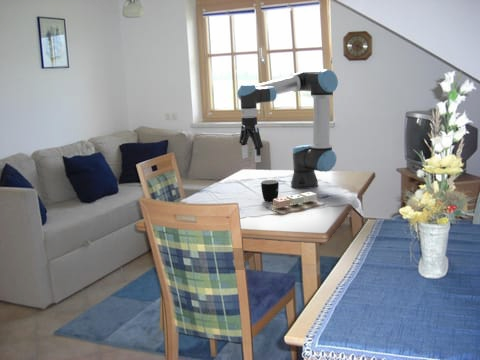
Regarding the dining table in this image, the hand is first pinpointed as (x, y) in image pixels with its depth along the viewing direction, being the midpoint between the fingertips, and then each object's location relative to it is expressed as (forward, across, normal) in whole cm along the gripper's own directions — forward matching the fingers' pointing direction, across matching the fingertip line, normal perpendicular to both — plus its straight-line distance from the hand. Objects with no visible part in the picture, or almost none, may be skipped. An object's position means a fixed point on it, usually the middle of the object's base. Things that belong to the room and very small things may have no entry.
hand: (251, 160), depth 276 cm
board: (+24, +11, +17) cm, 32 cm away
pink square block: (+22, +12, +9) cm, 27 cm away
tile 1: (+22, +11, +25) cm, 35 cm away
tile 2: (+22, +11, +17) cm, 30 cm away
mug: (+24, -7, +13) cm, 29 cm away
